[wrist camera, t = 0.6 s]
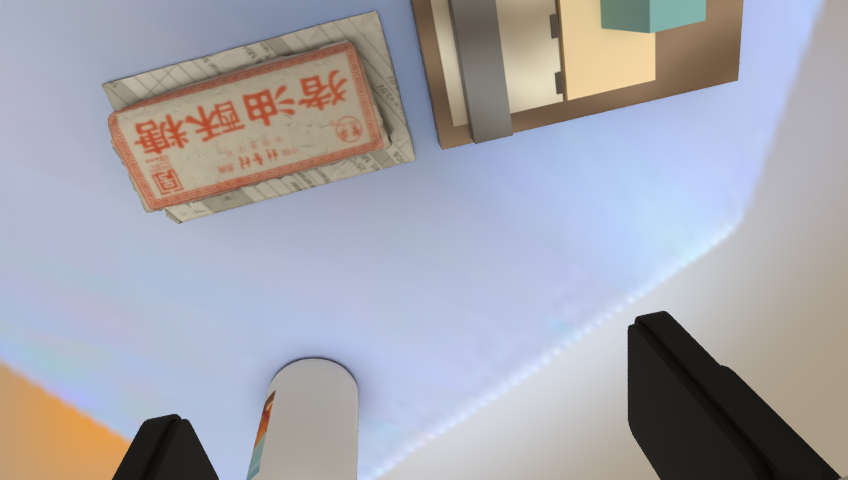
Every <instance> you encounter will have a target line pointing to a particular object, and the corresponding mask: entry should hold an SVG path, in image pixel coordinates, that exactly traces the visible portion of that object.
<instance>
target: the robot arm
mask: <svg viewBox="0 0 848 480" xmlns="http://www.w3.org/2000/svg"><path fill="white" fill-rule="evenodd" d="M628 422H629V426H630V429H631V432H632V434H633V436H634V438H635V439H636V441H637V443H638V444H639V446H640V447H641V449H642V451H643V452H644V454H645V455H646V457H647V459H648V460H649V462H650V463H651V465H652V467H653V468H654V470H655V471H656V473H657V475H658V476H659V478H660V479H661V480H848V476H846V477H843V478H841V477H840V476H839V475H838V474H837V473H836V472H835V471H834V470H833V469H832V468H831V467H830V466H829V465H828V464H827V463H826V462H825V461H824V460H823V459H822V458H821V457H820V456H819V455H818V454H817V453H816V452H815V451H814V450H813V449H812V448H811V447H810V446H809V445H808V444H807V443H806V442H805V441H804V440H803V439H802V438H801V437H800V436H799V435H798V434H797V433H796V432H795V431H794V430H793V429H792V428H791V427H790V426H789V425H788V424H787V423H786V422H785V421H784V420H783V419H782V418H781V417H780V416H779V415H778V414H777V413H776V412H775V411H774V410H773V409H772V408H771V407H770V406H769V405H768V404H766V402H764V401H763V400H762V399H761V398H760V397H759V396H758V395H757V394H756V393H755V392H754V391H753V390H752V389H751V388H750V387H749V386H748V385H747V384H746V383H745V382H744V381H743V380H742V379H741V378H740V377H739V376H738V375H737V374H736V373H735V372H734V371H733V370H731V369H730V368H729V367H726V366H723V365H721V366H720V365H719V364H718V363H717V362H716V361H715V359H714V358H712V357H711V356H710V354H709V353H708V352H707V351H705V350H704V348H703V347H702V346H701V345H699V344H698V342H697V341H696V340H695V339H694V338H692V337H691V335H690V334H689V333H688V332H687V331H686V330H685V329H684V328H683V327H682V326H681V325H680V324H679V323H678V322H677V321H676V320H675V319H674V318H673V317H672V316H671V315H670V314H669V313H667V312H666V311H660V312H656V313H651V314H646V315H641V316H638V317H636V319H635V323H634V324H632V325H630V326H629V327H628ZM112 480H219V478H218V476H217V474H216V472H215V470H214V468H213V466H212V464H211V462H210V460H209V458H208V456H207V454H206V453H205V451H204V449H203V447H202V445H201V443H200V441H199V439H198V437H197V435H196V433H195V431H194V429H193V427H192V425H191V423H190V422H189V420H187V419H181V417H180V416H179V415H177V414H171V415H166V416H162V417H157V418H152V419H148V420H146V421H144V423H143V424H142V425H141V427H140V429H139V431H138V432H137V434H136V436H135V438H134V440H133V442H132V443H131V445H130V447H129V449H128V451H127V453H126V455H125V456H124V458H123V460H122V462H121V464H120V466H119V467H118V469H117V471H116V473H115V475H114V477H113V479H112Z"/></svg>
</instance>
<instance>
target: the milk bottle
mask: <svg viewBox="0 0 848 480" xmlns="http://www.w3.org/2000/svg"><path fill="white" fill-rule="evenodd" d="M357 458H358V388H357V385H356V383H355V381H354V379H353V377H352V376H351V375H350V373H349V372H348V371H347V370H345V369H344V368H343V367H342V366H340V365H338V364H337V363H334V362H331V361H329V360H323V359H303V360H300V361H296V362H294V363H292V364H290V365H288V366H286V367H285V368H283V369H282V370H281V371H280V372H279V373H278V374H277V375H276V376H275V377H274V379H273V380H272V382H271V384H270V387H269V390H268V393H267V397H266V401H265V405H264V409H263V413H262V417H261V421H260V425H259V429H258V433H257V437H256V441H255V445H254V449H253V454H252V458H251V462H250V466H249V471H248V475H247V479H246V480H357Z"/></svg>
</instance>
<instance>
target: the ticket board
mask: <svg viewBox="0 0 848 480" xmlns="http://www.w3.org/2000/svg"><path fill="white" fill-rule="evenodd" d="M411 4H412V9H413V14H414V19H415V24H416V29H417V34H418V39H419V44H420V49H421V54H422V59H423V64H424V69H425V74H426V79H427V84H428V89H429V94H430V100H431V105H432V110H433V115H434V120H435V125H436V130H437V135H438V140H439V145H440V146H441V148H442V150H444V149H448V148H452V147H456V146H461V145H465V144H469V143H473V142H474V143H475V144H477V143H481V142H486V141H490V140H494V139H498V138H503V137H507V136H511V135H513V133H516V132H520V131H525V130H529V129H533V128H537V127H542V126H546V125H550V124H554V123H559V122H563V121H567V120H571V119H576V118H580V117H584V116H588V115H593V114H597V113H601V112H605V111H610V110H614V109H618V108H622V107H627V106H631V105H635V104H639V103H644V102H648V101H652V100H656V99H661V98H665V97H669V96H673V95H678V94H682V93H686V92H690V91H695V90H699V89H703V88H707V87H712V86H716V85H720V84H724V83H729V82H733V81H737V80H738V72H739V58H740V43H741V28H742V13H743V0H706V18H705V21H701V22H697V23H692V24H688V25H684V26H680V27H675V28H671V29H667V30H663V31H658V32H655V80H653V81H649V82H644V83H640V84H636V85H632V86H627V87H623V88H619V89H615V90H610V91H606V92H602V93H598V94H593V95H589V96H585V97H581V98H576V99H572V100H566V99H565V90H564V78H563V65H562V53H561V41H560V28H559V16H558V4H557V0H411Z"/></svg>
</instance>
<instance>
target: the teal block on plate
mask: <svg viewBox="0 0 848 480" xmlns="http://www.w3.org/2000/svg"><path fill="white" fill-rule="evenodd" d="M557 4H558V16H559V28H560V41H561V53H562V65H563V78H564V90H565V99H566V100H572V99H576V98H581V97H585V96H589V95H593V94H598V93H602V92H606V91H610V90H615V89H619V88H623V87H627V86H632V85H636V84H640V83H644V82H649V81H653V80H655V32H658V31H663V30H667V29H671V28H675V27H680V26H684V25H688V24H692V23H697V22H701V21H705V18H706V0H557Z"/></svg>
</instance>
